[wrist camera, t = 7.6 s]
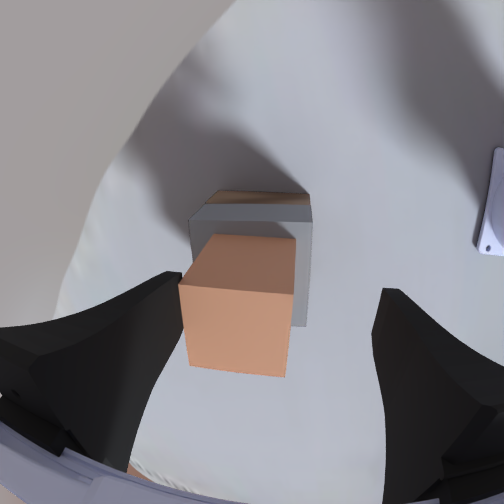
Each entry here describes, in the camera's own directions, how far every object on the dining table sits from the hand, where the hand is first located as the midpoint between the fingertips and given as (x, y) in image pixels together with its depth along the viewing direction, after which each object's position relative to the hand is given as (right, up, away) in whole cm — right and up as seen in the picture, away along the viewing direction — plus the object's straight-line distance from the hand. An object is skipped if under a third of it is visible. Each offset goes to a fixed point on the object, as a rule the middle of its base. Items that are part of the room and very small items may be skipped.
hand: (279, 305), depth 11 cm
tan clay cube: (-1, +1, +5) cm, 5 cm away
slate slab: (-1, +2, +8) cm, 8 cm away
